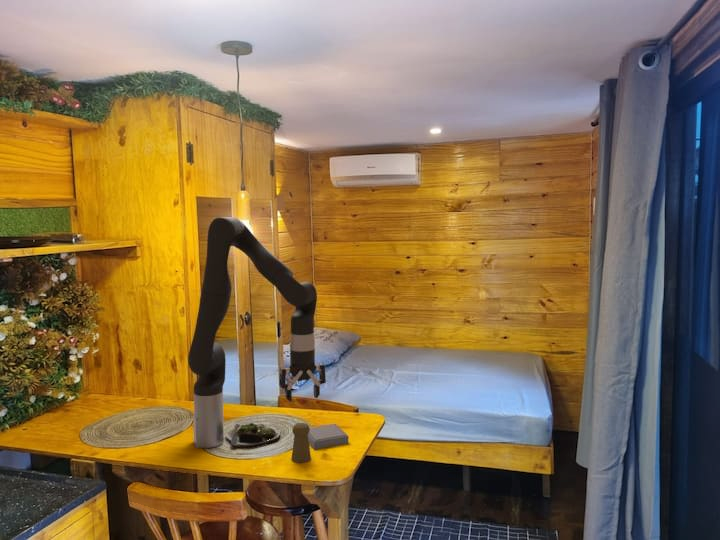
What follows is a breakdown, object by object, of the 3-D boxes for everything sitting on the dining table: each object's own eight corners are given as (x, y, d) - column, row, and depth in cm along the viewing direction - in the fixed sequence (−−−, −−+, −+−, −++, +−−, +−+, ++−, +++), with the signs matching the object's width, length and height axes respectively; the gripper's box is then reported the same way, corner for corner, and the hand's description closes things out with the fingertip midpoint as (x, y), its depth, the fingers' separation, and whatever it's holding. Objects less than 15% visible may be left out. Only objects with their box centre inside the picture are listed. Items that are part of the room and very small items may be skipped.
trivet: (314, 449, 175) (314, 441, 175) (302, 436, 186) (302, 428, 186) (348, 443, 180) (348, 435, 180) (335, 430, 191) (335, 423, 191)
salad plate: (214, 434, 189) (213, 421, 188) (261, 423, 199) (261, 411, 198) (236, 453, 173) (235, 439, 172) (286, 441, 183) (286, 427, 183)
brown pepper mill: (298, 464, 164) (298, 429, 163) (287, 458, 169) (287, 423, 168) (314, 459, 168) (314, 424, 167) (303, 453, 173) (303, 419, 172)
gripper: (283, 352, 160) (284, 406, 162) (328, 347, 166) (328, 399, 168) (276, 347, 167) (277, 398, 169) (320, 342, 173) (320, 392, 175)
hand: (302, 399), depth 168 cm, fingers open, 8 cm apart
